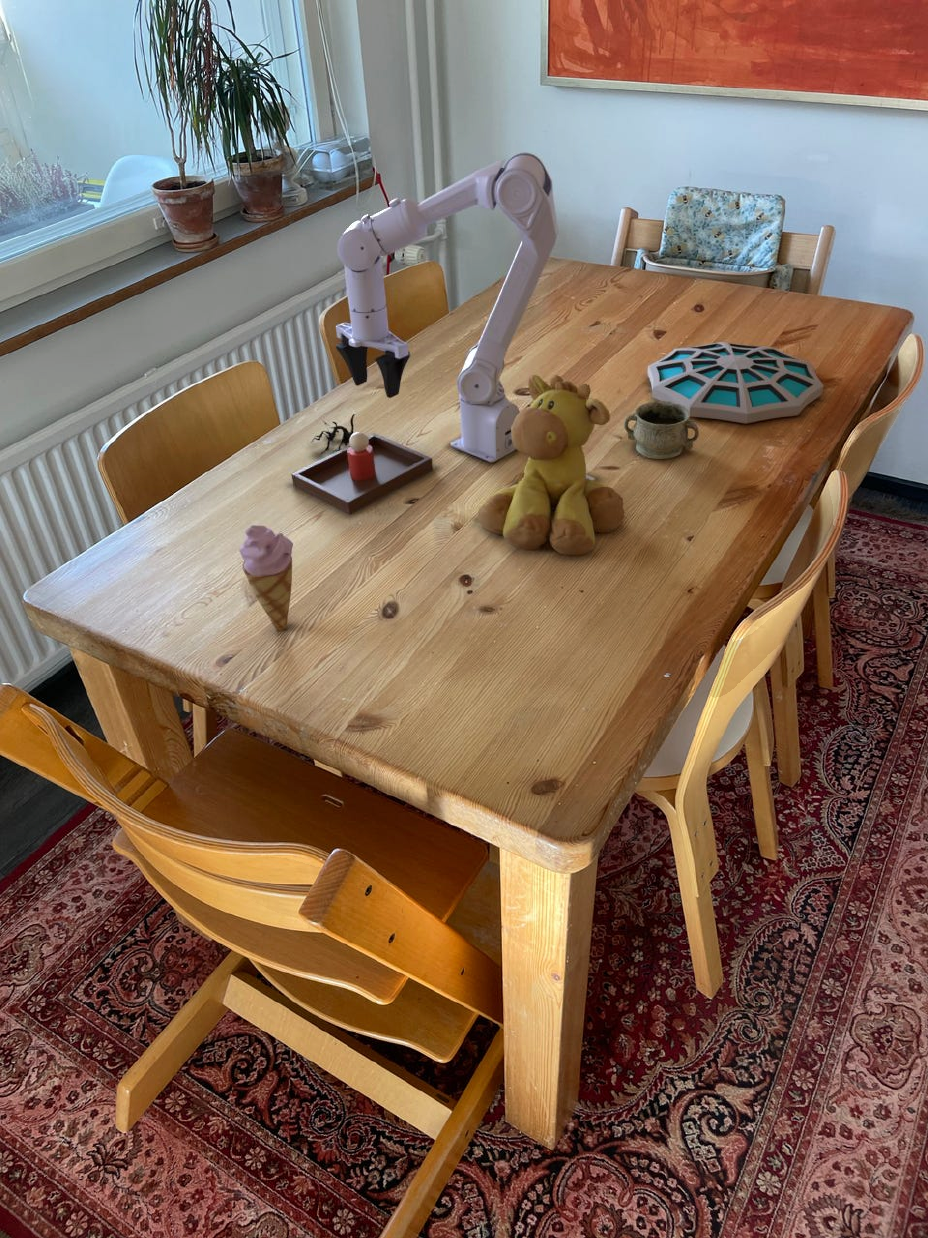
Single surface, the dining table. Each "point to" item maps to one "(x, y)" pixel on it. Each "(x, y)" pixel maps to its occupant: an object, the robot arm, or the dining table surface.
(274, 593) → the ice cream cone
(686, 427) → the vessel
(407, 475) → the tray
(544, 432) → the giraffe plush
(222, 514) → the dining table surface
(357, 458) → the peg doll
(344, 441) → the creature
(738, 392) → the decorative platform
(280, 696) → the dining table surface
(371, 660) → the dining table surface
